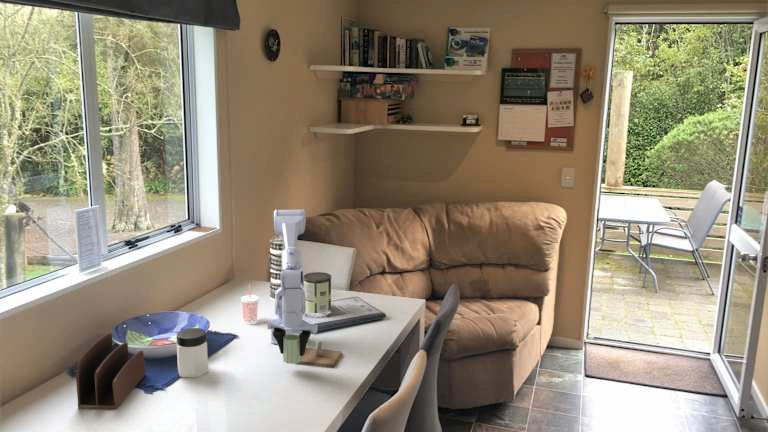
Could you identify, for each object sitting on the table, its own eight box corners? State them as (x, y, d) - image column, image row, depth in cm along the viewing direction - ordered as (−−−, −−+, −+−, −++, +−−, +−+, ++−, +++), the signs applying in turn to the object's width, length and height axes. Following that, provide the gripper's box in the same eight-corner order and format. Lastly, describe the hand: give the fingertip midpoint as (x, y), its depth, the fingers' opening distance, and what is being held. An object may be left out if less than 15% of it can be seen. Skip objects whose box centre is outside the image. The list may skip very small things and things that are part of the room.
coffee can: (315, 305, 236) (315, 270, 233) (336, 311, 231) (337, 275, 228) (297, 313, 228) (297, 276, 225) (319, 319, 222) (319, 282, 220)
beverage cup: (237, 323, 217) (236, 285, 214) (248, 317, 222) (247, 280, 220) (252, 326, 215) (251, 288, 212) (262, 320, 220) (261, 283, 217)
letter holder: (77, 409, 158) (73, 358, 156) (111, 374, 178) (108, 328, 175) (116, 410, 158) (112, 359, 156) (146, 375, 178) (143, 328, 175)
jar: (210, 375, 178) (208, 336, 176) (180, 380, 175) (178, 341, 172) (204, 363, 186) (203, 325, 183) (176, 367, 182) (174, 329, 180)
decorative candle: (291, 302, 239) (290, 240, 234) (267, 302, 239) (266, 239, 234) (294, 295, 248) (294, 234, 242) (271, 294, 248) (270, 233, 243)
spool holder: (295, 363, 187) (294, 346, 186) (305, 350, 197) (305, 333, 195) (333, 367, 185) (333, 350, 184) (341, 354, 194) (342, 337, 193)
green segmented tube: (280, 362, 179) (280, 339, 178) (287, 354, 184) (286, 332, 183) (298, 364, 178) (298, 341, 177) (304, 356, 183) (304, 334, 182)
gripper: (263, 312, 175) (264, 356, 178) (312, 316, 173) (312, 361, 176) (272, 303, 182) (272, 346, 185) (319, 308, 180) (319, 351, 183)
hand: (292, 353), depth 181 cm, fingers closed on green segmented tube, 5 cm apart
